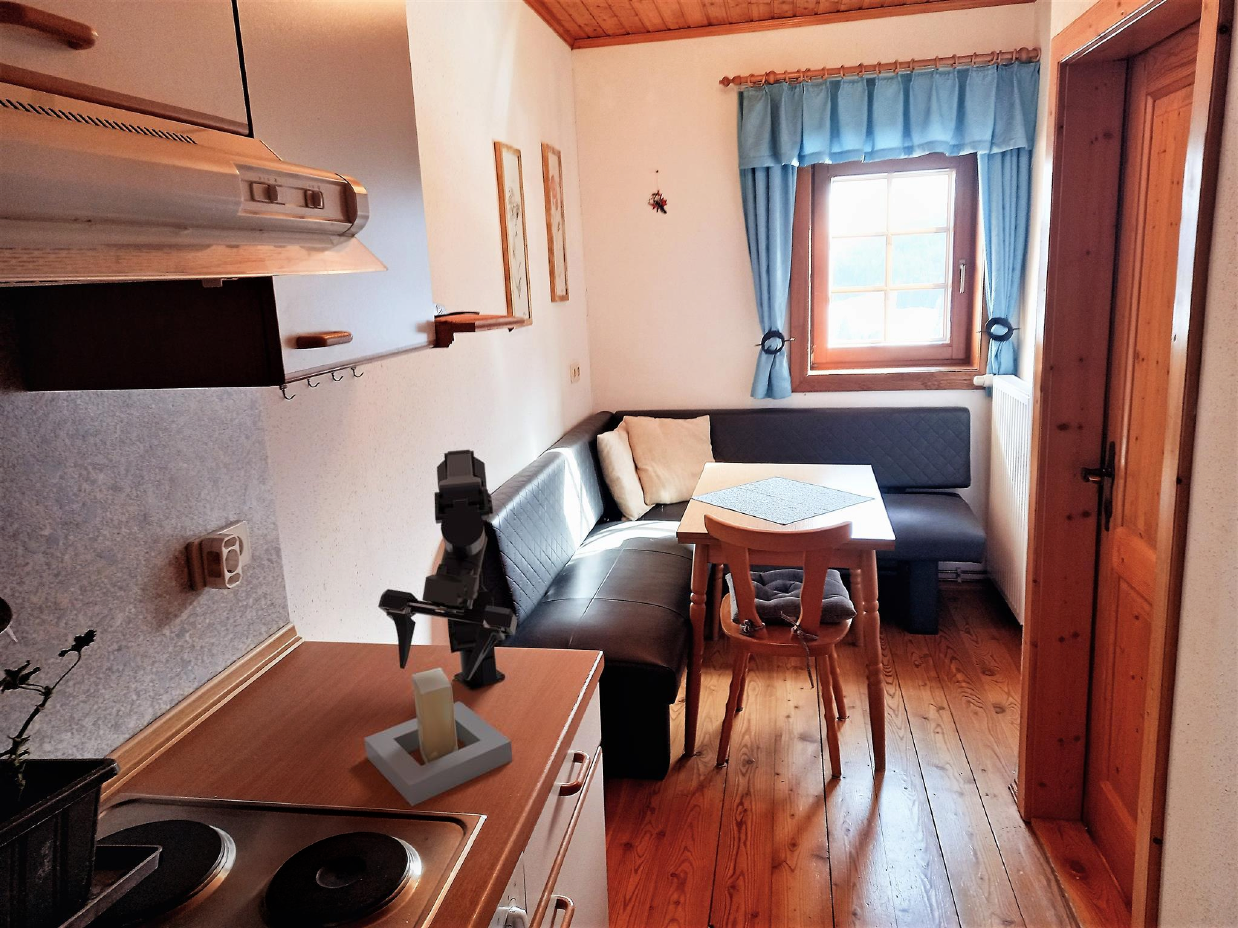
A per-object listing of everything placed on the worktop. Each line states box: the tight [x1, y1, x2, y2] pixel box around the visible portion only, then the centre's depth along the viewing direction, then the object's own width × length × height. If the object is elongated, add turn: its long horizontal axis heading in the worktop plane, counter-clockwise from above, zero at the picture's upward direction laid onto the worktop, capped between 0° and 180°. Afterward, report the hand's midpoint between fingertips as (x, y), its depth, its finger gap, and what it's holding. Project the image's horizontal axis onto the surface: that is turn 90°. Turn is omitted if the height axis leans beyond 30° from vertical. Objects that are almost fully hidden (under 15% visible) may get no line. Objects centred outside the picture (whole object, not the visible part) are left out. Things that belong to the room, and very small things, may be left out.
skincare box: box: [411, 667, 459, 765], centre depth 116 cm, size 6×4×12 cm
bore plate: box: [363, 701, 514, 807], centre depth 117 cm, size 15×15×3 cm
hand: (434, 673), depth 114 cm, fingers open, 9 cm apart
